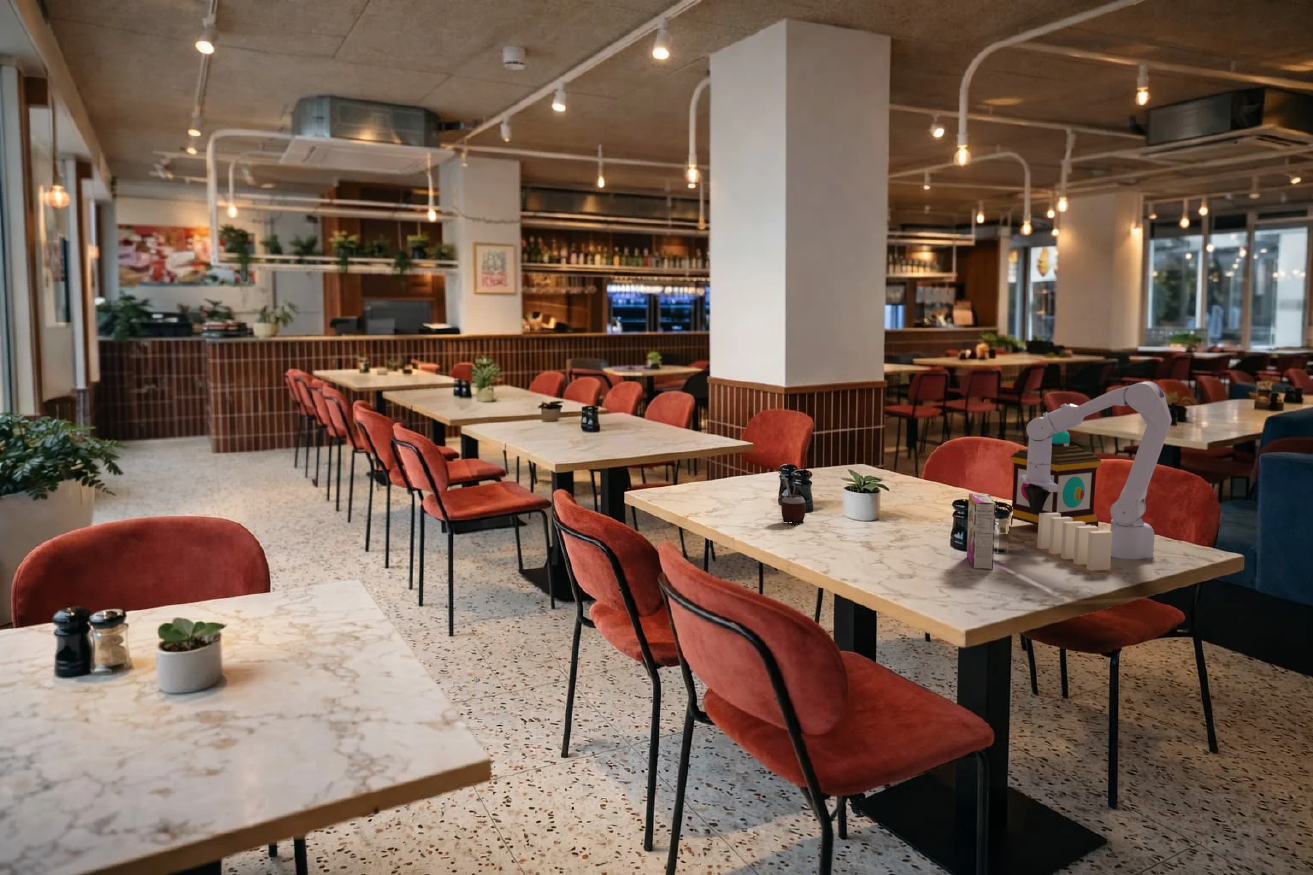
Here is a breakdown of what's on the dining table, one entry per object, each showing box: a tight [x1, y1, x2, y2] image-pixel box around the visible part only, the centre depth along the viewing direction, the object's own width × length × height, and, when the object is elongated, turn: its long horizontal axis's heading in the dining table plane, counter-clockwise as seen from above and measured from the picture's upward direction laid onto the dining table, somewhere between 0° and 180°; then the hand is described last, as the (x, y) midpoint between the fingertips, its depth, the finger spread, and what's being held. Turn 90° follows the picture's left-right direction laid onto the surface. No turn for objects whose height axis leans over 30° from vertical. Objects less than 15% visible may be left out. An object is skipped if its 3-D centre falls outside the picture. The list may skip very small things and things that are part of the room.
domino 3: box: [1061, 521, 1086, 559], centre depth 218 cm, size 2×5×9 cm, turn 99°
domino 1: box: [1036, 513, 1061, 549], centre depth 228 cm, size 2×5×9 cm, turn 97°
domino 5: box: [1086, 530, 1113, 571], centre depth 208 cm, size 2×5×9 cm, turn 99°
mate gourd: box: [777, 470, 807, 526], centre depth 259 cm, size 8×8×15 cm
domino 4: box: [1073, 525, 1100, 565], centre depth 213 cm, size 2×5×9 cm, turn 99°
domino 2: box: [1049, 517, 1073, 554], centre depth 223 cm, size 2×5×9 cm, turn 99°
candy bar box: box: [966, 492, 997, 570], centre depth 216 cm, size 11×5×16 cm, turn 168°
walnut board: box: [1025, 544, 1124, 575], centre depth 218 cm, size 9×26×1 cm, turn 9°
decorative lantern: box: [1010, 430, 1102, 527], centre depth 249 cm, size 20×20×30 cm
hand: (1036, 513), depth 233 cm, fingers closed
